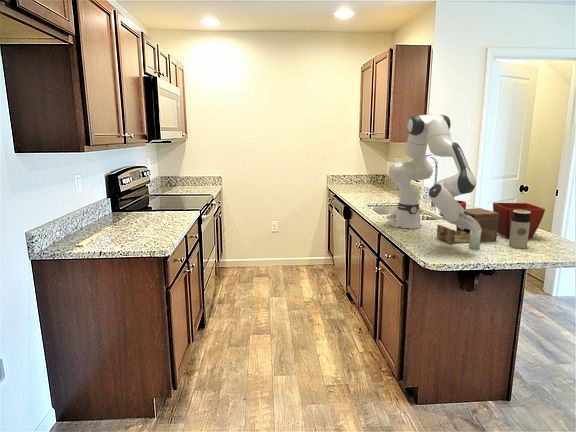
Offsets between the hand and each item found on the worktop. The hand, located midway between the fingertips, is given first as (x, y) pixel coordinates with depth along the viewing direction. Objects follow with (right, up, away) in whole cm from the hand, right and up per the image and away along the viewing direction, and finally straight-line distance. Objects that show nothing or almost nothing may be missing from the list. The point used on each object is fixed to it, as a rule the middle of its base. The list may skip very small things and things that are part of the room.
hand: (469, 230), depth 193 cm
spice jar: (+3, -9, +3) cm, 10 cm away
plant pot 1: (+20, +5, +67) cm, 70 cm away
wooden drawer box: (+12, -5, +20) cm, 24 cm away
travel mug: (+26, -8, +6) cm, 28 cm away
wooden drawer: (-1, -5, +17) cm, 18 cm away
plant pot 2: (+37, -4, +26) cm, 45 cm away
